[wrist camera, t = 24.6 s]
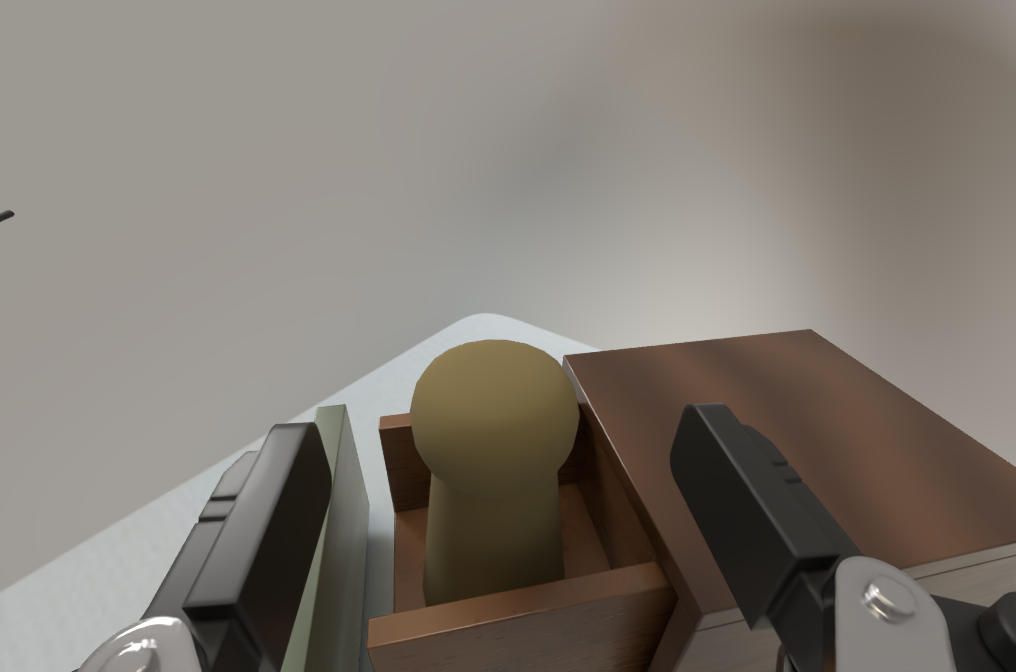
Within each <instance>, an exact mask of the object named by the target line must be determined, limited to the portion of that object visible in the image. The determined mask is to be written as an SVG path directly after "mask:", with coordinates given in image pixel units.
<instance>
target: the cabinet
mask: <svg viewBox="0 0 1016 672" xmlns="http://www.w3.org/2000/svg"><path fill="white" fill-rule="evenodd" d="M562 368H563V369H564V371H565V372H566V374H567V375H568V377H569V378H570V380H571V381H572V383H573V384H574V388H575V393H576V398H577V400H578V402H579V404H580V406H581V408H582V410H583V412H584V414H585V416H586V418H587V420H588V422H589V423H590V425H591V427H592V429H593V431H594V433H595V435H596V437H597V439H598V441H599V443H600V445H601V447H602V449H603V451H604V453H605V455H606V457H607V459H608V461H609V463H610V464H611V466H612V468H613V470H614V472H615V474H616V476H617V478H618V480H619V482H620V484H621V486H622V488H623V490H624V492H625V494H626V496H627V498H628V500H629V502H630V504H631V505H632V507H633V509H634V511H635V513H636V515H637V517H638V519H639V521H640V523H641V525H642V527H643V529H644V531H645V533H646V535H647V537H648V539H649V541H650V543H651V545H652V546H653V548H654V550H655V552H656V554H657V556H658V558H659V560H660V562H661V564H662V566H663V568H664V570H665V572H666V574H667V576H668V578H669V580H670V582H671V584H672V586H673V587H674V589H675V591H676V593H677V595H678V597H679V600H678V601H677V604H676V606H675V608H674V611H673V613H672V615H671V618H670V620H669V622H668V625H667V627H666V629H665V632H664V634H663V636H662V639H661V641H660V643H659V645H658V648H657V650H656V652H655V655H654V657H653V659H652V662H651V664H650V666H649V669H648V671H647V672H776V661H777V652H778V648H779V646H780V644H781V643H782V642H781V640H780V639H779V637H778V635H777V633H776V631H775V630H774V629H766V630H756V631H751V630H750V628H749V626H748V624H747V622H746V620H745V618H744V616H743V614H742V612H741V610H740V608H739V607H738V605H737V603H736V601H735V599H734V597H733V595H732V593H731V591H730V589H729V587H728V585H727V583H726V581H725V579H724V577H723V575H722V573H721V571H720V569H719V567H718V565H717V563H716V561H715V559H714V557H713V555H712V553H711V551H710V549H709V547H708V545H707V543H706V541H705V539H704V537H703V535H702V533H701V531H700V530H699V528H698V526H697V524H696V522H695V520H694V518H693V516H692V514H691V512H690V510H689V508H688V506H687V504H686V502H685V500H684V498H683V496H682V494H681V492H680V490H679V488H678V486H677V484H676V482H675V480H674V478H673V475H672V472H671V467H670V452H671V448H672V445H673V441H674V438H675V435H676V431H677V428H678V425H679V422H680V418H681V415H682V412H683V409H684V407H685V406H686V405H688V404H701V403H724V404H725V405H727V406H728V407H729V409H730V410H731V411H732V412H733V414H734V415H735V416H736V418H737V419H738V420H739V422H740V423H741V424H742V425H750V426H751V427H753V428H754V429H755V430H757V431H758V432H760V433H761V434H762V435H764V436H765V437H766V438H768V439H769V440H770V441H772V442H773V444H774V445H775V446H776V447H777V449H778V450H779V451H780V452H781V453H782V455H783V456H784V457H785V458H786V460H787V461H788V465H789V466H792V467H793V468H794V470H795V471H796V472H797V473H798V474H799V476H800V477H801V478H802V482H803V483H806V484H807V486H808V487H809V488H810V489H811V491H812V492H813V493H814V494H815V495H816V497H817V498H818V499H819V500H820V502H821V503H822V504H823V505H824V507H825V508H826V509H827V510H828V512H829V513H830V514H831V515H832V517H833V518H834V519H835V520H836V521H837V523H838V524H839V525H840V526H841V528H842V529H843V530H844V531H845V533H846V534H847V535H848V536H849V538H850V539H851V540H852V541H853V542H854V544H855V545H856V546H857V547H858V549H859V550H860V551H861V552H862V553H863V554H864V555H865V556H866V557H870V558H874V559H877V560H880V561H883V562H885V563H888V564H890V565H892V566H894V567H896V568H897V569H899V570H901V571H902V572H904V573H905V574H907V575H908V576H910V577H911V578H912V579H914V580H915V581H916V582H917V583H918V584H920V585H921V586H922V587H923V588H924V589H925V590H926V591H927V592H928V593H929V594H932V595H937V596H941V597H945V598H950V599H954V600H958V601H963V602H967V603H971V604H976V605H980V606H984V607H990V606H991V605H992V604H994V603H995V602H996V601H997V600H998V599H999V598H1001V597H1002V596H1003V595H1004V594H1006V593H1009V592H1015V591H1016V467H1015V466H1013V465H1012V464H1010V463H1009V462H1007V461H1006V460H1004V459H1003V458H1001V457H1000V456H998V455H997V454H995V453H994V452H992V451H991V450H990V449H988V448H987V447H985V446H984V445H982V444H981V443H979V442H977V441H976V440H975V439H973V438H972V437H970V436H969V435H967V434H965V433H964V432H963V431H961V430H960V429H958V428H957V427H955V426H954V425H952V424H951V423H949V422H948V421H946V420H945V419H943V418H942V417H940V416H939V415H937V414H936V413H934V412H933V411H931V410H930V409H928V408H927V407H925V406H924V405H923V404H921V403H920V402H918V401H917V400H915V399H914V398H912V397H911V396H909V395H908V394H906V393H905V392H903V391H902V390H900V389H899V388H897V387H896V386H894V385H893V384H891V383H890V382H888V381H887V380H885V379H884V378H882V377H881V376H880V375H878V374H876V373H875V372H874V371H872V370H870V369H869V368H868V367H866V366H865V365H863V364H862V363H860V362H859V361H857V360H856V359H854V358H853V357H851V356H850V355H848V354H847V353H845V352H844V351H842V350H841V349H839V348H838V347H836V346H835V345H833V344H832V343H830V342H829V341H828V340H826V339H825V338H823V337H821V336H820V335H819V334H817V333H816V332H814V331H813V330H811V329H807V330H797V331H789V332H779V333H769V334H760V335H751V336H741V337H732V338H723V339H713V340H704V341H694V342H685V343H675V344H666V345H657V346H647V347H638V348H628V349H619V350H610V351H600V352H590V353H581V354H572V355H564V356H563V365H562Z"/></svg>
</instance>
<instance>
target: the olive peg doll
mask: <svg viewBox="0 0 1016 672" xmlns="http://www.w3.org/2000/svg"><path fill="white" fill-rule="evenodd" d="M579 417H580V415H579V409H578V403H577V398H576V393H575V388H574V384H573V383H572V381H571V380H570V378H569V377H568V375H567V374H566V372H565V371H564V369H563V368H562V367H561V365H560V364H559V362H558V361H557V360H555V359H554V358H553V357H551V356H550V355H549V354H547V353H546V352H544V351H543V350H540V349H538V348H535V347H533V346H530V345H528V344H525V343H519V342H514V341H509V340H482V341H476V342H470V343H465V344H463V345H460V346H457V347H454V348H452V349H449V350H447V351H446V352H444V353H443V354H441V355H440V356H438V357H437V358H435V359H434V360H433V361H432V362H431V364H430V365H429V366H428V367H427V369H426V370H425V371H424V373H423V374H422V376H421V377H420V379H419V380H418V382H417V383H416V387H415V391H414V394H413V398H412V403H411V408H410V420H411V426H412V432H413V437H414V441H415V446H416V448H417V450H418V452H419V454H420V456H421V458H422V459H423V461H424V462H425V464H426V465H427V466H428V468H429V469H430V470H431V472H432V473H431V485H430V498H429V510H428V522H427V535H426V547H425V559H424V571H423V584H422V587H423V593H424V599H425V605H426V607H430V606H435V605H440V604H445V603H450V602H455V601H460V600H465V599H469V598H474V597H479V596H484V595H489V594H494V593H499V592H504V591H509V590H514V589H519V588H524V587H529V586H534V585H539V584H544V583H549V582H554V581H559V580H563V579H565V571H564V558H563V544H562V530H561V516H560V502H559V488H558V474H557V471H558V470H559V469H560V467H561V466H562V465H563V464H564V462H565V461H566V459H567V457H568V456H569V454H570V452H571V450H572V448H573V444H574V441H575V437H576V433H577V429H578V423H579Z"/></svg>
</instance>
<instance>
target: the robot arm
mask: <svg viewBox="0 0 1016 672" xmlns="http://www.w3.org/2000/svg"><path fill="white" fill-rule="evenodd" d="M14 215H15V214H14V212H12V211H10V210H7V211H5V212H2V213H0V222H2V221H4V220H6V219H8V218H11V217H13V216H14ZM670 467H671V472H672V475H673V478H674V480H675V482H676V484H677V486H678V488H679V490H680V492H681V494H682V496H683V498H684V500H685V502H686V504H687V506H688V508H689V510H690V512H691V514H692V516H693V518H694V520H695V522H696V524H697V526H698V528H699V530H700V531H701V533H702V535H703V537H704V539H705V541H706V543H707V545H708V547H709V549H710V551H711V553H712V555H713V557H714V559H715V561H716V563H717V565H718V567H719V569H720V571H721V573H722V575H723V577H724V579H725V581H726V583H727V585H728V587H729V589H730V591H731V593H732V595H733V597H734V599H735V601H736V603H737V605H738V607H739V608H740V610H741V612H742V614H743V616H744V618H745V620H746V622H747V624H748V626H749V628H750V630H751V631H756V630H766V629H774V630H775V631H776V633H777V635H778V637H779V639H780V640H781V642H782V643H781V644H780V646H779V648H778V652H777V661H776V672H1016V591H1015V592H1009V593H1006V594H1004V595H1003V596H1002V597H1001V598H999V599H998V600H997V601H996V602H995V603H994V604H992V605H991V606H990V607H984V606H980V605H976V604H971V603H967V602H963V601H958V600H954V599H950V598H945V597H941V596H937V595H932V594H929V593H928V592H927V591H926V590H925V589H924V588H923V587H922V586H921V585H920V584H918V583H917V582H916V581H915V580H914V579H912V578H911V577H910V576H908V575H907V574H905V573H904V572H902V571H901V570H899V569H897V568H896V567H894V566H892V565H890V564H888V563H885V562H883V561H880V560H877V559H874V558H870V557H866V556H865V555H864V554H863V553H862V552H861V551H860V550H859V549H858V547H857V546H856V545H855V544H854V542H853V541H852V540H851V539H850V538H849V536H848V535H847V534H846V533H845V531H844V530H843V529H842V528H841V526H840V525H839V524H838V523H837V521H836V520H835V519H834V518H833V517H832V515H831V514H830V513H829V512H828V510H827V509H826V508H825V507H824V505H823V504H822V503H821V502H820V500H819V499H818V498H817V497H816V495H815V494H814V493H813V492H812V491H811V489H810V488H809V487H808V486H807V484H806V483H803V482H802V478H801V477H800V476H799V474H798V473H797V472H796V471H795V470H794V468H793V467H792V466H789V465H788V461H787V460H786V458H785V457H784V456H783V455H782V453H781V452H780V451H779V450H778V449H777V447H776V446H775V445H774V444H773V442H772V441H770V440H769V439H768V438H766V437H765V436H764V435H762V434H761V433H760V432H758V431H757V430H755V429H754V428H753V427H751V426H750V425H742V424H741V423H740V422H739V420H738V419H737V418H736V416H735V415H734V414H733V412H732V411H731V410H730V409H729V407H728V406H727V405H725V404H724V403H701V404H688V405H686V406H685V407H684V409H683V412H682V415H681V418H680V422H679V425H678V428H677V431H676V435H675V438H674V441H673V445H672V448H671V452H670ZM331 492H332V475H331V469H330V466H329V463H328V459H327V456H326V452H325V449H324V445H323V442H322V439H321V435H320V432H319V429H318V426H317V424H316V423H314V422H308V423H289V424H276V425H274V426H273V427H272V428H271V430H270V432H269V434H268V436H267V438H266V440H265V442H264V444H263V446H262V448H261V450H260V451H249V452H245V453H244V454H243V455H242V456H241V457H240V458H239V459H238V460H237V461H236V462H235V463H234V464H233V465H232V466H231V467H230V468H229V469H227V470H226V471H225V472H224V474H223V475H222V477H221V479H220V481H219V482H218V484H217V486H216V488H215V490H214V491H213V493H212V495H211V497H210V502H207V504H206V506H205V507H204V509H203V511H202V513H201V514H200V516H199V522H198V523H195V525H194V527H193V529H192V530H191V532H190V534H189V536H188V538H187V539H186V541H185V543H184V545H183V546H182V548H181V550H180V552H179V554H178V555H177V557H176V559H175V561H174V562H173V564H172V566H171V568H170V570H169V571H168V573H167V575H166V577H165V578H164V580H163V582H162V584H161V586H160V587H159V589H158V591H157V593H156V594H155V596H154V598H153V600H152V602H151V603H150V605H149V607H148V608H147V610H146V611H145V613H144V615H143V616H142V617H141V619H140V620H139V621H138V622H136V623H134V624H132V625H130V626H128V627H126V628H124V629H122V630H121V631H119V632H118V633H116V634H115V635H113V636H112V637H110V638H109V639H108V640H107V641H105V642H104V643H103V644H102V645H101V646H100V647H98V648H97V649H96V650H95V651H94V652H93V653H92V654H91V655H90V656H89V657H88V659H87V660H86V661H85V662H84V663H83V664H82V666H81V667H80V668H79V669H76V670H74V671H72V672H281V668H282V665H283V661H284V658H285V654H286V651H287V648H288V644H289V641H290V637H291V634H292V630H293V627H294V623H295V620H296V616H297V613H298V610H299V606H300V603H301V599H302V596H303V592H304V589H305V585H306V582H307V578H308V575H309V572H310V568H311V565H312V561H313V558H314V554H315V551H316V547H317V544H318V540H319V537H320V534H321V530H322V527H323V523H324V520H325V516H326V513H327V509H328V506H329V502H330V498H331Z"/></svg>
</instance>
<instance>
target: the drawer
mask: <svg viewBox="0 0 1016 672" xmlns="http://www.w3.org/2000/svg"><path fill="white" fill-rule="evenodd" d="M577 403H578V409H579V415H580V417H579V423H578V429H577V433H576V437H575V441H574V444H573V448H572V450H571V452H570V454H569V456H568V457H567V459H566V461H565V462H564V464H563V465H562V466H561V467H560V469H559V470H558V471H557V474H558V488H559V502H560V516H561V530H562V544H563V558H564V571H565V579H563V580H559V581H554V582H549V583H544V584H539V585H534V586H529V587H524V588H519V589H514V590H509V591H504V592H499V593H494V594H489V595H484V596H479V597H474V598H469V599H465V600H460V601H455V602H450V603H445V604H440V605H435V606H430V607H426V605H425V599H424V593H423V587H422V584H423V571H424V559H425V547H426V535H427V522H428V510H429V498H430V485H431V473H432V472H431V470H430V469H429V468H428V466H427V465H426V464H425V462H424V461H423V459H422V458H421V456H420V454H419V452H418V450H417V448H416V446H415V441H414V437H413V432H412V426H411V420H410V413H407V414H399V415H390V416H382V417H380V418H379V434H380V439H381V444H382V450H383V455H384V460H385V465H386V471H387V476H388V481H389V486H390V492H391V497H392V502H393V507H394V512H395V517H394V610H393V614H390V615H385V616H380V617H376V618H371V619H369V621H368V634H367V651H368V654H369V657H370V660H371V663H372V666H373V669H374V672H647V671H648V669H649V666H650V664H651V662H652V659H653V657H654V655H655V652H656V650H657V648H658V645H659V643H660V641H661V639H662V636H663V634H664V632H665V629H666V627H667V625H668V622H669V620H670V618H671V615H672V613H673V611H674V608H675V606H676V604H677V601H678V600H679V597H678V595H677V593H676V591H675V589H674V587H673V586H672V584H671V582H670V580H669V578H668V576H667V574H666V572H665V570H664V568H663V566H662V564H661V562H660V560H659V558H658V556H657V554H656V552H655V550H654V548H653V546H652V545H651V543H650V541H649V539H648V537H647V535H646V533H645V531H644V529H643V527H642V525H641V523H640V521H639V519H638V517H637V515H636V513H635V511H634V509H633V507H632V505H631V504H630V502H629V500H628V498H627V496H626V494H625V492H624V490H623V488H622V486H621V484H620V482H619V480H618V478H617V476H616V474H615V472H614V470H613V468H612V466H611V464H610V463H609V461H608V459H607V457H606V455H605V453H604V451H603V449H602V447H601V445H600V443H599V441H598V439H597V437H596V435H595V433H594V431H593V429H592V427H591V425H590V423H589V422H588V420H587V418H586V416H585V414H584V412H583V410H582V408H581V406H580V404H579V402H578V400H577ZM314 423H316V424H317V426H318V429H319V432H320V435H321V439H322V442H323V445H324V449H325V452H326V456H327V459H328V463H329V466H330V469H331V475H332V492H331V498H330V502H329V506H328V509H327V513H326V516H325V520H324V523H323V527H322V530H321V534H320V537H319V540H318V544H317V547H316V551H315V554H314V558H313V561H312V565H311V568H310V572H309V575H308V578H307V582H306V585H305V589H304V592H303V596H302V599H301V603H300V606H299V610H298V613H297V616H296V620H295V623H294V627H293V630H292V634H291V637H290V641H289V644H288V648H287V651H286V654H285V658H284V661H283V665H282V668H281V672H358V670H359V655H360V640H361V625H362V610H363V595H364V580H365V565H366V550H367V534H368V519H369V501H368V497H367V492H366V488H365V484H364V480H363V475H362V471H361V467H360V463H359V458H358V454H357V450H356V446H355V441H354V437H353V433H352V429H351V424H350V420H349V416H348V412H347V407H346V405H345V404H343V405H335V406H326V407H318V408H317V410H316V415H315V419H314ZM208 502H210V499H209V500H208Z"/></svg>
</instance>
